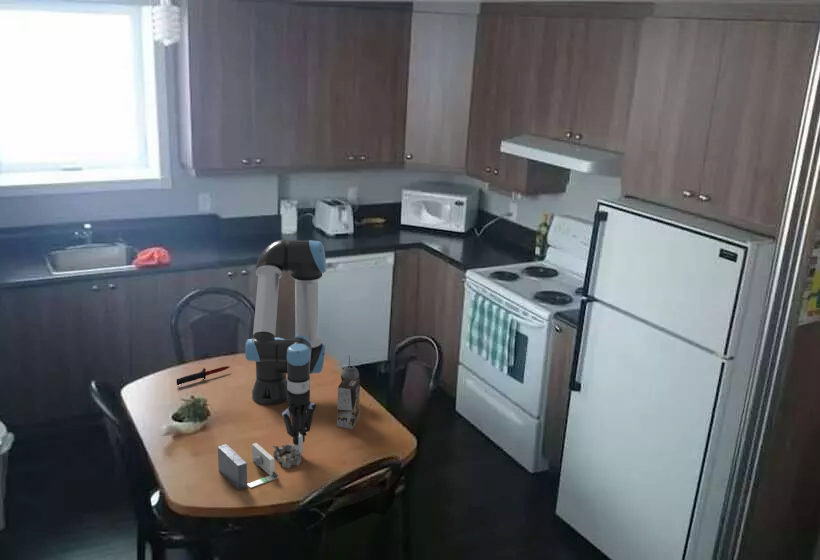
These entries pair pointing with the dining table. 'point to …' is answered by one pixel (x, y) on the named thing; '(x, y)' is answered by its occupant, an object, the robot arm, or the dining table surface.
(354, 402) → the coffee box
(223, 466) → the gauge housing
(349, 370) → the beverage cup
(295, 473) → the dining table surface
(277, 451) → the egg carton
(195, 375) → the knife
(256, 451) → the spring plate
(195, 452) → the dining table surface
